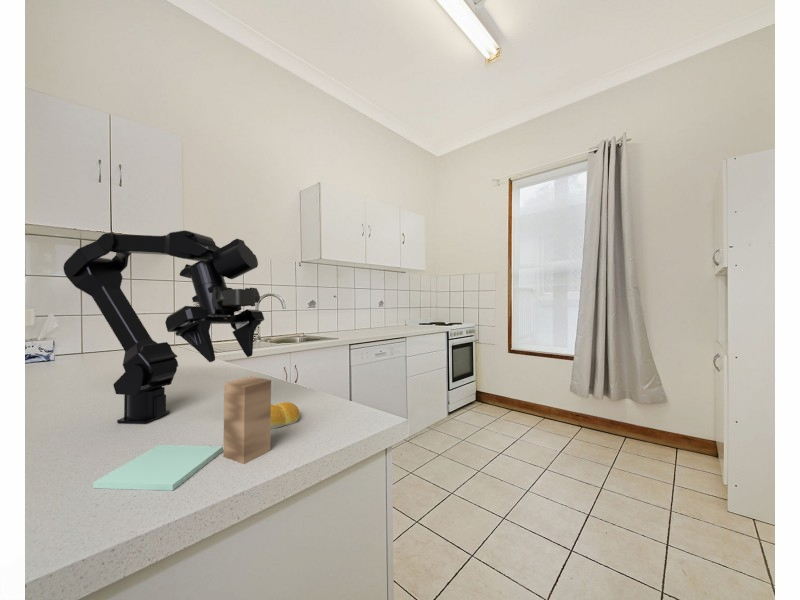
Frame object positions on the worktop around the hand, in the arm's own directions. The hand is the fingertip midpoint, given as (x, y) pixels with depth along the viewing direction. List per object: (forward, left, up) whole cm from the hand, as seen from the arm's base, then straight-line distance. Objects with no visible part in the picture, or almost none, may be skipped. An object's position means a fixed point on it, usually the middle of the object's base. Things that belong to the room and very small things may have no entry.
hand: (232, 358), depth 62 cm
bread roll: (+7, +4, -14) cm, 17 cm away
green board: (-2, -15, -14) cm, 20 cm away
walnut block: (+8, -10, -14) cm, 19 cm away
